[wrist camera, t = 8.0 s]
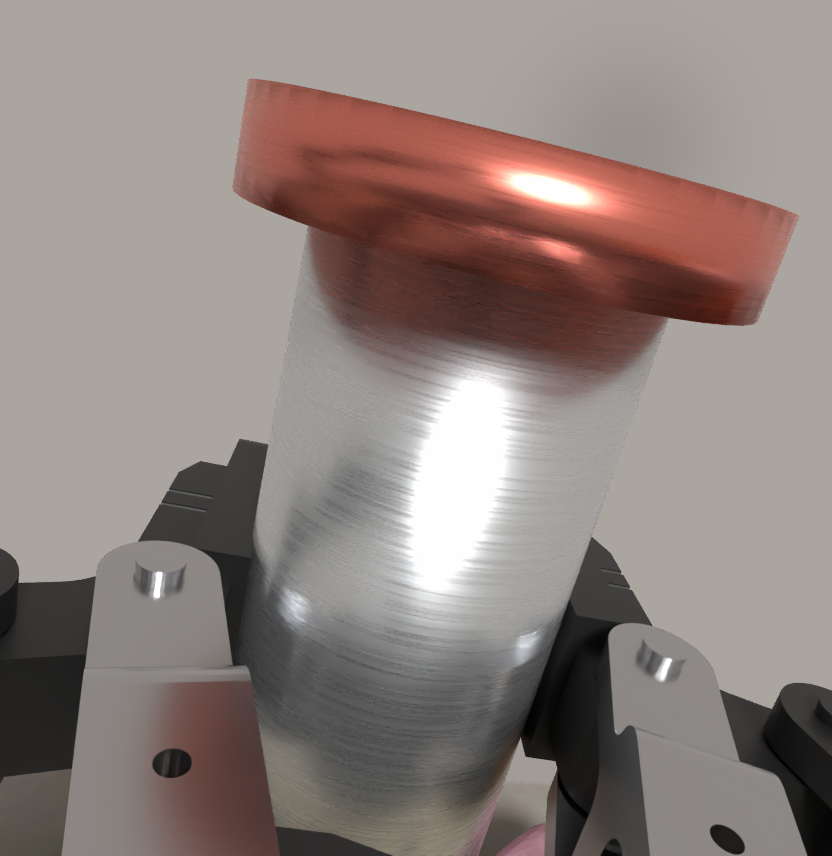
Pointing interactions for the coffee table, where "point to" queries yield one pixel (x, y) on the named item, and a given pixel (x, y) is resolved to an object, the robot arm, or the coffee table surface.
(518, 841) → the video game controller
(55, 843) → the coffee table surface
